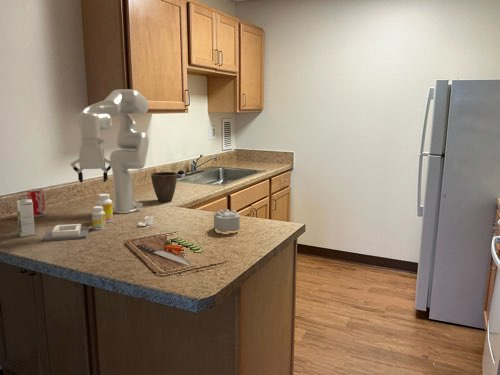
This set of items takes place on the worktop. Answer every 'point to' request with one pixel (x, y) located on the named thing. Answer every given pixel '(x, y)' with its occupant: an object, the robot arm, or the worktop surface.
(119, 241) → the worktop surface
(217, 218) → the lumpy-topped squat cylinder
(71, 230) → the frame
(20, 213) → the syrup box
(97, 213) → the supplement bottle
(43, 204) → the soda can
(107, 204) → the supplement bottle
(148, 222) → the white looped piece
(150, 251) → the chopping board
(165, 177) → the plant pot
